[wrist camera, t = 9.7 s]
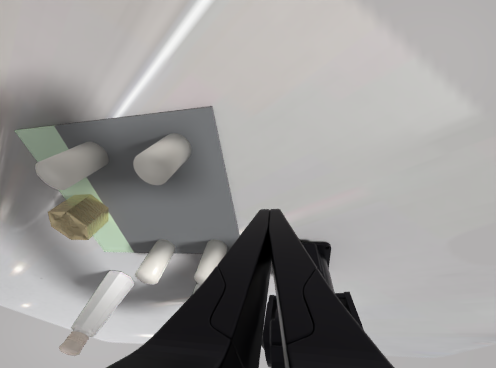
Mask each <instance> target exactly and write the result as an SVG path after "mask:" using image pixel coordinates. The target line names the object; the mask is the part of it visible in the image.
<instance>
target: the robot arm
mask: <svg viewBox="0 0 496 368" xmlns="http://www.w3.org/2000/svg"><path fill="white" fill-rule="evenodd" d="M330 253H331V245H330V244H329V243H301V242H300V240H299V239H298V237H297V235H296V234H295V232H294V231H293V229H292V228H291V226H290V224H289V223H288V221H287V220H286V218H285V217H284V215H283V213H282V212H281V210H280V209H271V210H269V209H261V210H260V211H259V212H258V213H257V214H256V216H255V217H254V218H253V220H252V221H251V222H250V223H249V225H248V226H247V227H246V229H245V230H244V231H243V232H242V234H241V235H240V236H239V238H238V239H237V240H236V242H235V243H234V244H233V245H232V247H231V248H230V249H229V251H228V252H227V253H226V254H225V256H224V257H223V258H222V260H221V261H220V262H219V263H218V266H216V267H215V268H214V270H213V271H212V272H211V274H210V275H209V276H208V277H207V279H206V280H205V281H204V282H203V283H202V285H201V286H200V287H199V288H198V289H197V290H196V291H195V292H194V294H193V295H192V296H191V297H190V298H189V299H188V300H187V301H186V302H185V303H184V304H183V305H182V306H181V307H180V309H179V310H178V311H177V312H176V313H175V314H174V315H173V316H172V317H171V318H170V319H169V320H168V321H167V322H166V323H165V324H164V325H163V326H162V327H161V329H160V330H159V331H158V332H157V333H156V334H155V335H154V336H153V337H152V338H151V339H149V340H148V341H147V342H146V343H145V344H144V345H142V346H141V347H140V348H139V349H137V350H136V351H134V352H133V353H131V354H130V355H128V356H126V357H125V358H123V359H121V360H119V361H117V362H115V363H114V364H112V365H110V366H108V367H107V368H258V367H259V358H260V351H261V346H262V347H263V348H264V350H265V356H266V361H267V365H268V367H271V368H394V367H393V366H392V364H390V362H389V361H388V360H387V359H386V357H385V356H384V355H383V354H382V353H381V351H380V350H379V349H378V348H377V346H376V345H375V344H374V343H373V341H372V340H371V339H370V338H369V337H368V335H367V334H366V333H365V332H364V329H363V327H362V324H361V321H360V319H359V316H358V313H357V311H356V308H355V306H354V303H353V300H352V298H351V295H350V292H344V293H334V289H333V285H332V281H331V277H330V273H329V261H330ZM271 259H272V267H273V275H274V282H275V290H276V296H274V295H270V296H269V302H268V303H267V310H266V302H267V294H268V286H269V278H270V270H271ZM265 310H266V316H265ZM264 319H265V323H264ZM263 327H264V330H263Z"/></svg>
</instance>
